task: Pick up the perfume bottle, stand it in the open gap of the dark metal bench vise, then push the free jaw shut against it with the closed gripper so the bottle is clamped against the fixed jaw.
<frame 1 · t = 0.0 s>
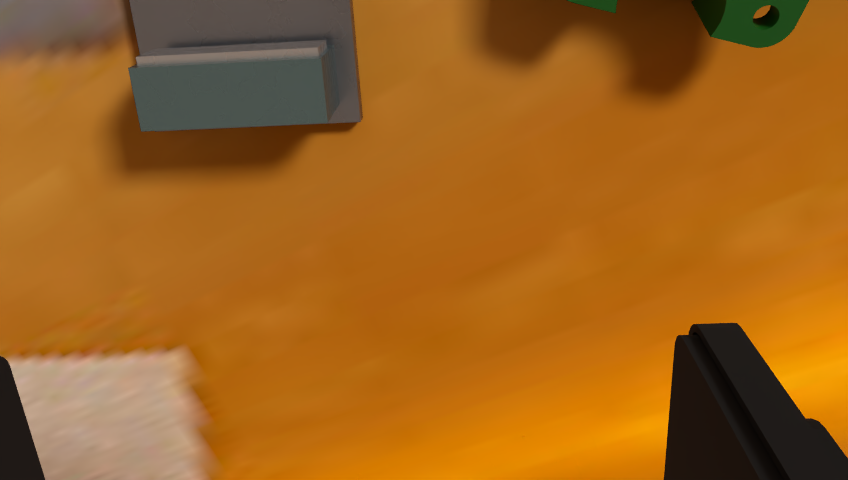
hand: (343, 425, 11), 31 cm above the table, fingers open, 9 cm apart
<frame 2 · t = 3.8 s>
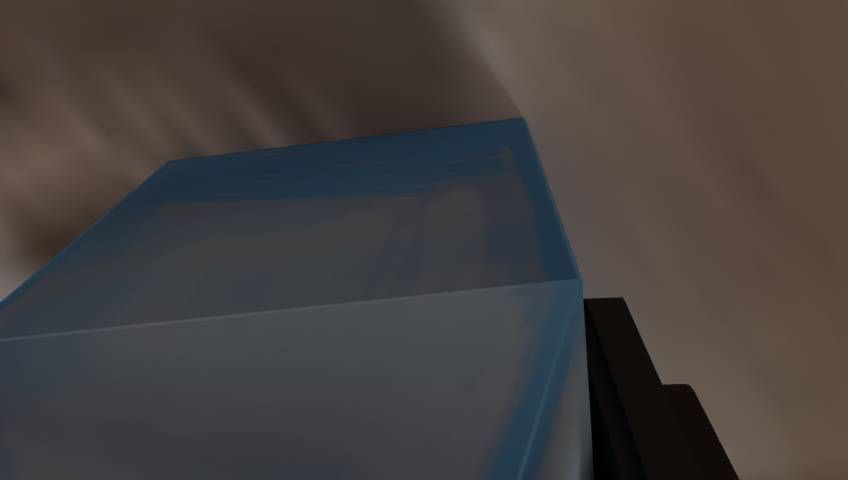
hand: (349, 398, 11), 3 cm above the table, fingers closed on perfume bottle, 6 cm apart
perfume bottle: (372, 296, 14), on the table, touching gripper
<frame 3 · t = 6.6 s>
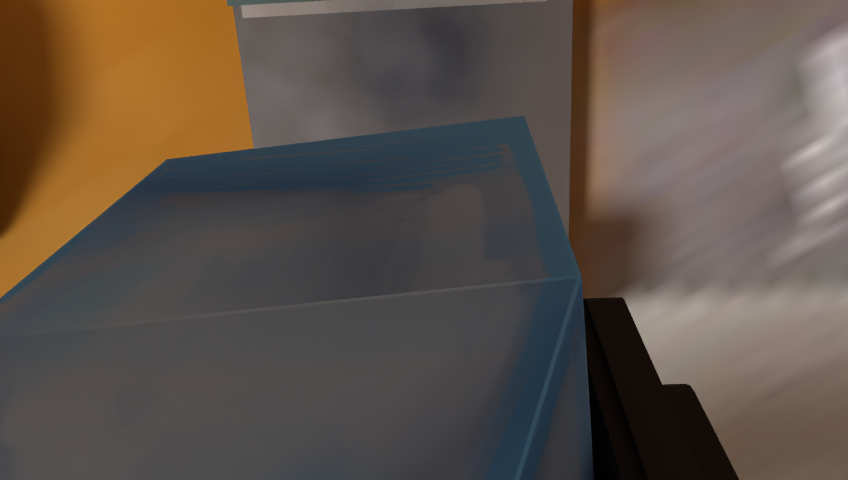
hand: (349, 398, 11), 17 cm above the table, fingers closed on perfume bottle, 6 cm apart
vise bed: (413, 156, 28), on the table
perfume bottle: (372, 294, 14), point 14 cm above the table, touching gripper
when the fingers open (5 cm above the table, at t = 9.6 s): perfume bottle drops 1 cm, resting on vise bed.
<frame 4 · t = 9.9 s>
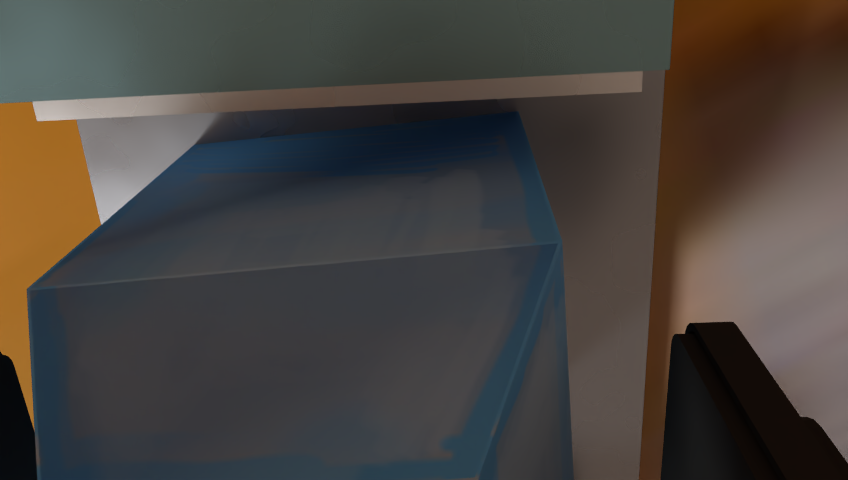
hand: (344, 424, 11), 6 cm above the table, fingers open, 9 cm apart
vise bed: (387, 310, 17), on the table
perfume bottle: (377, 272, 16), point 1 cm above the table, touching vise bed
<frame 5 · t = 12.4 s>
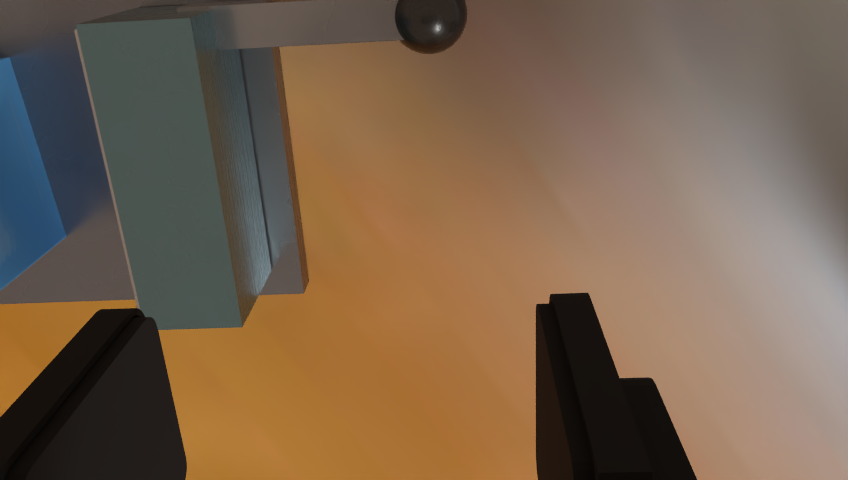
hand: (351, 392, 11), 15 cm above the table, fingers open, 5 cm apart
vise bed: (5, 148, 26), on the table
free jaw: (296, 151, 23), point 3 cm above the table, slide at 0.0 cm
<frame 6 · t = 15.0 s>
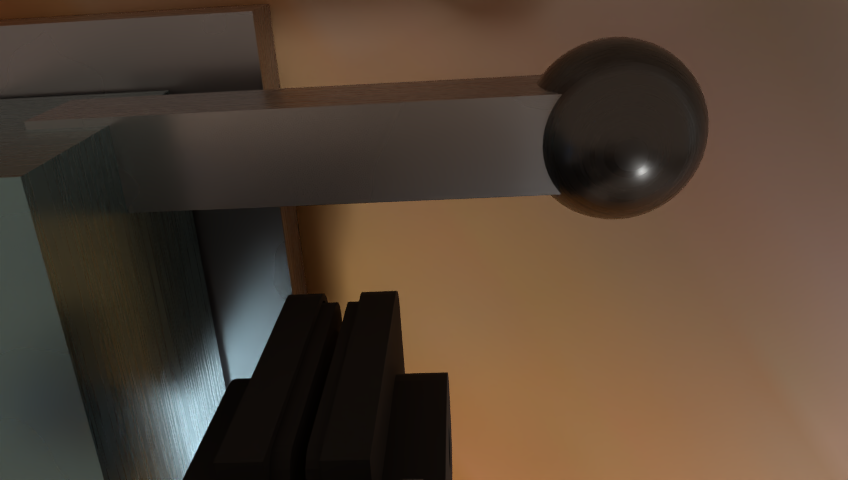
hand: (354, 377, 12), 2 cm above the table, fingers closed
free jaw: (306, 416, 11), point 3 cm above the table, slide at 0.3 cm, touching gripper
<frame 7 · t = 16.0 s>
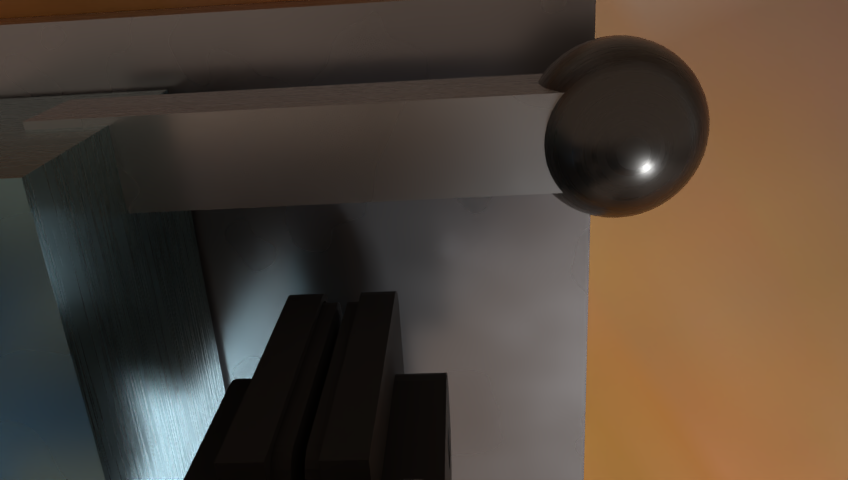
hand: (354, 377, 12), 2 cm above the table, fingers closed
vise bed: (21, 335, 14), on the table
free jaw: (307, 416, 10), point 3 cm above the table, slide at 5.0 cm, touching gripper, perfume bottle
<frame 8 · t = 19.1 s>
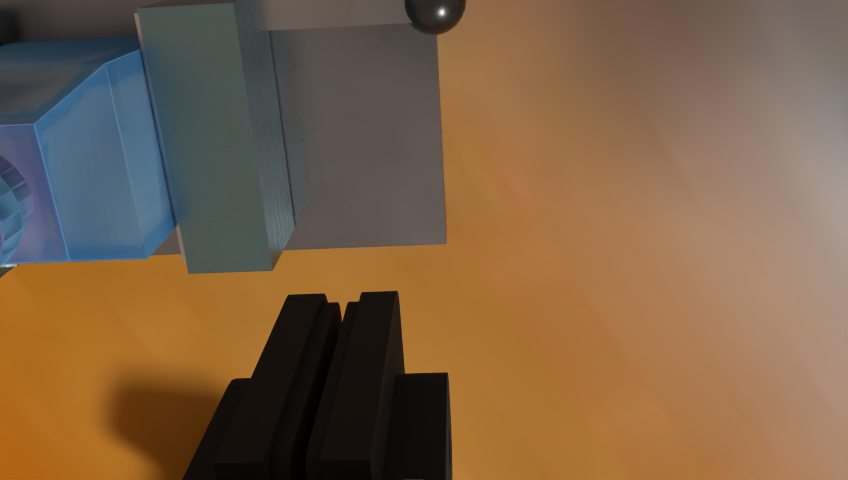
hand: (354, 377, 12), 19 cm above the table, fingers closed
vise bed: (185, 114, 30), on the table
perfume bottle: (114, 120, 29), point 1 cm above the table, touching vise bed
free jaw: (319, 119, 27), point 3 cm above the table, slide at 5.0 cm
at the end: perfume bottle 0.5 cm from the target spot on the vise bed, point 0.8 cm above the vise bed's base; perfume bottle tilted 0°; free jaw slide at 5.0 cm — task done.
